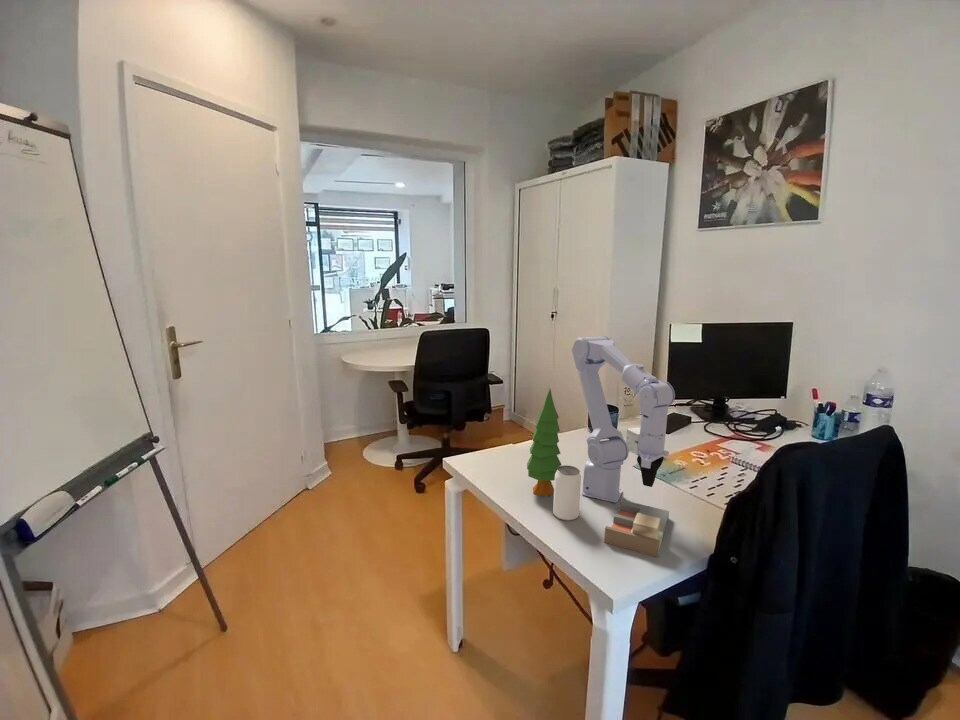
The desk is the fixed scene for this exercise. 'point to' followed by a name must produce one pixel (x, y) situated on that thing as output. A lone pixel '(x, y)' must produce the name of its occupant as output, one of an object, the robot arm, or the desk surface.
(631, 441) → the skincare box
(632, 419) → the desk surface
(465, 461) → the desk surface
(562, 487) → the can
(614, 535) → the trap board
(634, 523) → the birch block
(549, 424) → the decorative tree
